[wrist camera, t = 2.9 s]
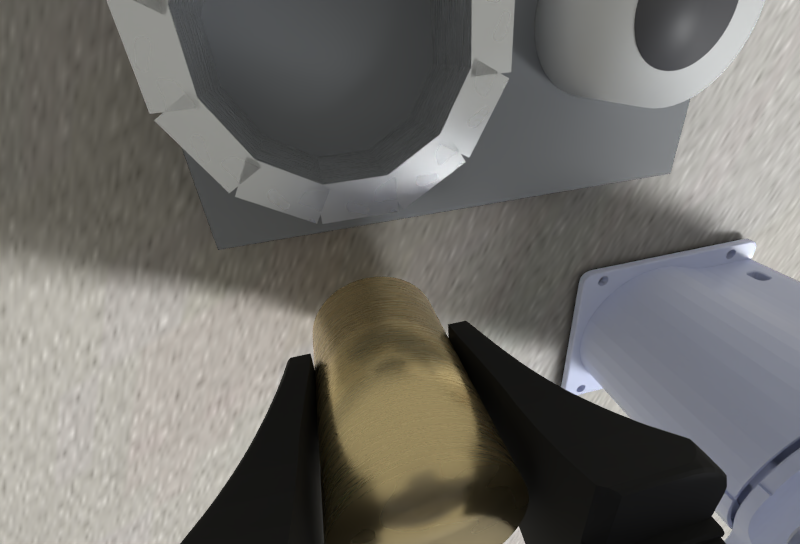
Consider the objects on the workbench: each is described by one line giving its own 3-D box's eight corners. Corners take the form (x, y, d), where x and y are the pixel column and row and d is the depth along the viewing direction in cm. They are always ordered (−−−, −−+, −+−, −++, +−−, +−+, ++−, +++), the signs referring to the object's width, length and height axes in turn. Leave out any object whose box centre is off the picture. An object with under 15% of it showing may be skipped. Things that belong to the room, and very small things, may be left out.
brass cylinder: (431, 265, 13) (537, 436, 7) (436, 362, 16) (521, 553, 10) (300, 290, 13) (303, 499, 7) (324, 387, 15) (343, 609, 9)
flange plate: (739, -231, 11) (961, -371, 7) (647, 165, 16) (746, 198, 13) (62, -239, 8) (-119, -461, 5) (223, 235, 14) (198, 300, 10)
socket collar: (465, -170, 9) (527, -252, 7) (464, 166, 13) (504, 193, 11) (97, -165, 8) (6, -262, 6) (219, 203, 12) (199, 244, 10)
